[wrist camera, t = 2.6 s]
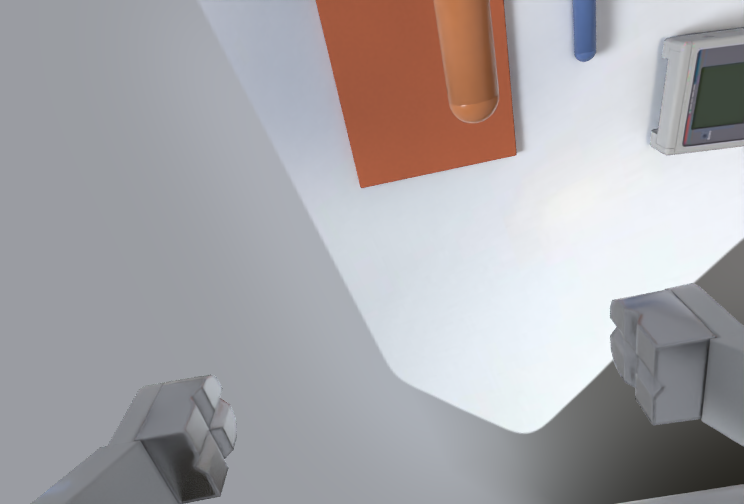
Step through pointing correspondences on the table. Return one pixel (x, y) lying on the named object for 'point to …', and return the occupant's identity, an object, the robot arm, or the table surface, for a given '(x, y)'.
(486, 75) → the square head mallet
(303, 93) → the table surface
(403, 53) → the terracotta mat
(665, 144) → the handheld gaming device
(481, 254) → the table surface
